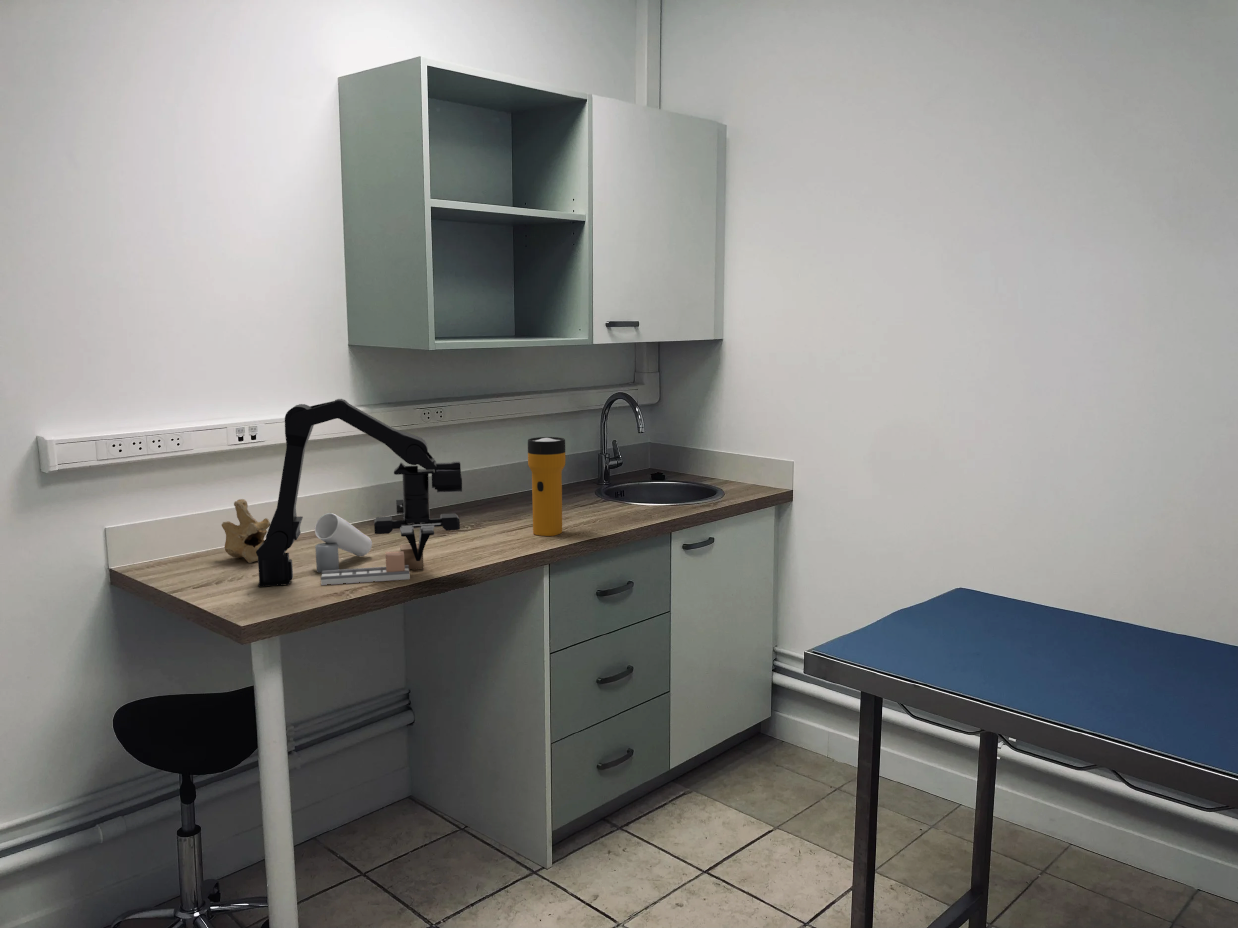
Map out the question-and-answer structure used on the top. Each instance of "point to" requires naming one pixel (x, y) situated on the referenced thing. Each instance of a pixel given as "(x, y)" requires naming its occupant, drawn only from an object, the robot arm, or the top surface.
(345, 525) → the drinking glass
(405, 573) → the counter rail
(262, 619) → the top surface
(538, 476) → the flashlight
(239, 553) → the vertebra
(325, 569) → the grey upright block
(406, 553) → the walnut block
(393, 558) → the counter slider
